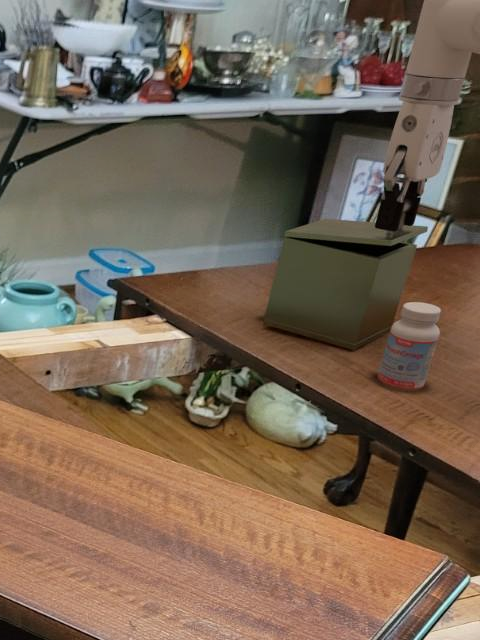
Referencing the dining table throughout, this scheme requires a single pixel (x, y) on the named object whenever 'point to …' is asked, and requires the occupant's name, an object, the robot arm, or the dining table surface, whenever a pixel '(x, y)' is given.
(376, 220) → the robot arm
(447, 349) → the dining table surface
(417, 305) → the pill bottle
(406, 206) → the bin lid
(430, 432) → the dining table surface
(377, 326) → the waste bin
